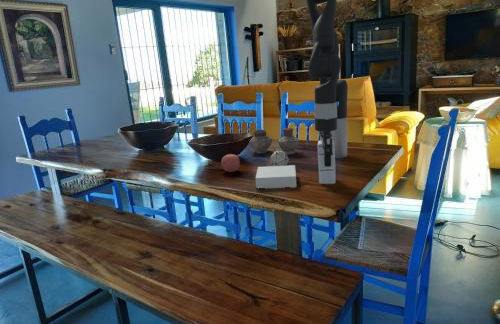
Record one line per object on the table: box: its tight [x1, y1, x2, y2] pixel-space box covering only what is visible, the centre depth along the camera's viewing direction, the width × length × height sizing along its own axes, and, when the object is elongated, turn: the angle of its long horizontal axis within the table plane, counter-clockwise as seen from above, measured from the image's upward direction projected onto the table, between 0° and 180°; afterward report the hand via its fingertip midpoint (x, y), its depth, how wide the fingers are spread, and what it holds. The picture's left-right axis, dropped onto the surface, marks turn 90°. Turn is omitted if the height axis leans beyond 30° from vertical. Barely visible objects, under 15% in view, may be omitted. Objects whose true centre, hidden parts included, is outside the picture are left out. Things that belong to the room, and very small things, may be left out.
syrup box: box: [317, 140, 336, 185], centre depth 129 cm, size 6×6×14 cm
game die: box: [267, 148, 292, 166], centre depth 150 cm, size 9×8×10 cm
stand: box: [255, 164, 297, 190], centre depth 134 cm, size 14×14×4 cm
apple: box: [220, 152, 241, 173], centre depth 151 cm, size 7×7×8 cm
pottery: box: [248, 127, 300, 155], centre depth 178 cm, size 11×25×12 cm, turn 66°
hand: (326, 163), depth 129 cm, fingers closed on syrup box, 6 cm apart
